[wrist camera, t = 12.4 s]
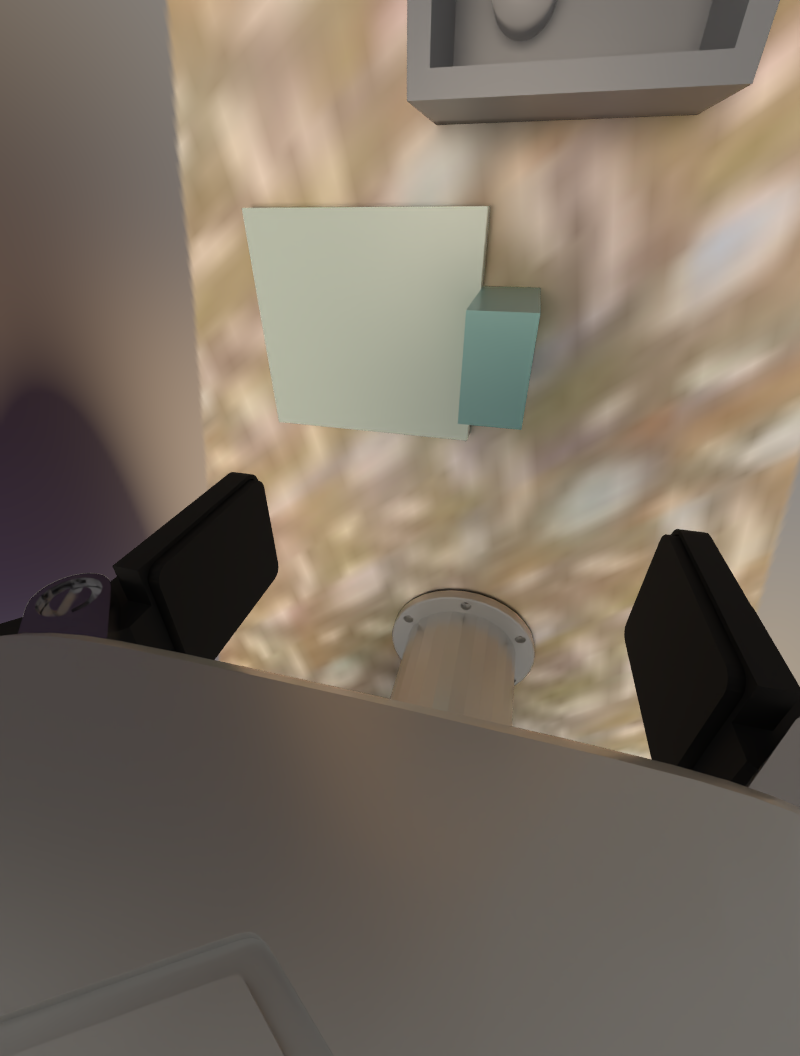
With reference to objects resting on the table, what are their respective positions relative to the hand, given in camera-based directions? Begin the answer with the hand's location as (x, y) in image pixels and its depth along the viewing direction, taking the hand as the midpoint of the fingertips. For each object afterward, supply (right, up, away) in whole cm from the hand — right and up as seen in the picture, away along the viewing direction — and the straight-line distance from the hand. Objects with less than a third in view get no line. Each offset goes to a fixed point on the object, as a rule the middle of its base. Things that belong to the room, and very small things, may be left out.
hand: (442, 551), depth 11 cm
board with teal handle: (-1, +12, +16) cm, 20 cm away
